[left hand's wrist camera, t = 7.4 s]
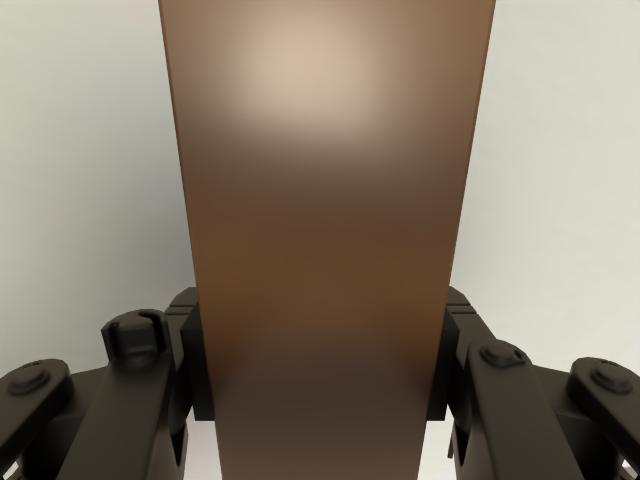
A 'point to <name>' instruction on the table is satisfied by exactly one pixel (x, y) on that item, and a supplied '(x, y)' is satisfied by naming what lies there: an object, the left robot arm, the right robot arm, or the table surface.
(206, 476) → the table surface
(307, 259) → the beam
